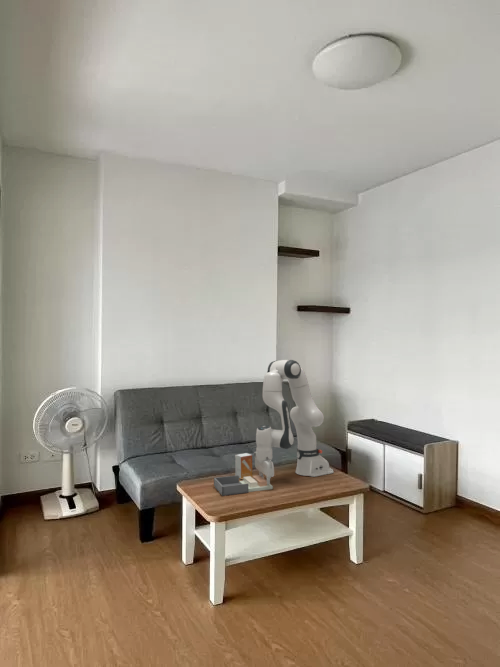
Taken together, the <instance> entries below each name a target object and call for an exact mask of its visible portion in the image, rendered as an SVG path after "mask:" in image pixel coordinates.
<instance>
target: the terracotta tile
mask: <svg viewBox="0 0 500 667" xmlns="http://www.w3.org/2000/svg"><path fill="white" fill-rule="evenodd" d="M252 478H253V479H254V480H255V481H257V485H259V486H260V487H261V486H267V481H266V479H265V478H262V477H261V476H260V475H259V474H257V475H252Z"/></svg>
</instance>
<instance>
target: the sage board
mask: <svg viewBox="0 0 500 667" xmlns="http://www.w3.org/2000/svg"><path fill="white" fill-rule="evenodd" d="M239 483H240V484H246V483H245V482H243V480H239ZM273 488H274V485H272V484H271V483H270V484H267V486H261V487H260V486H259V485H258V487H252V488H250V487H249V486H248V493H251V492H258V491H260V492H261V491H266V490H267V491H268V490H273Z"/></svg>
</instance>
